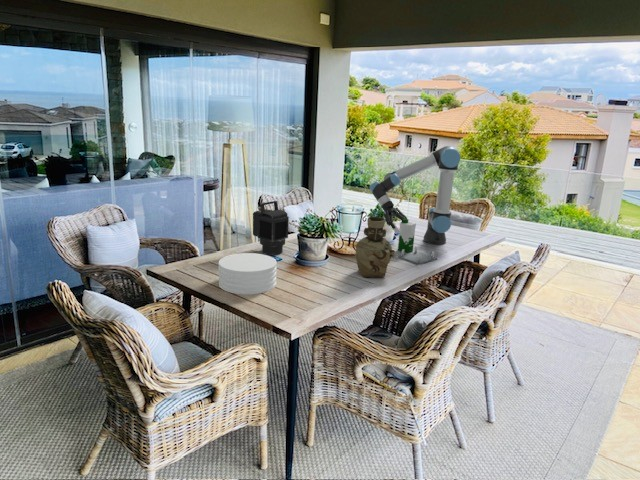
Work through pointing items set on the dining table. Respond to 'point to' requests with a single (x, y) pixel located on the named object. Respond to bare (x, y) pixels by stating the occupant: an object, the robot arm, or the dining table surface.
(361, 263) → the ceramic vessel
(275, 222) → the lantern
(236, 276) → the plate stack
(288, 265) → the dining table surface
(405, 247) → the soya milk
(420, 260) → the peg dock
